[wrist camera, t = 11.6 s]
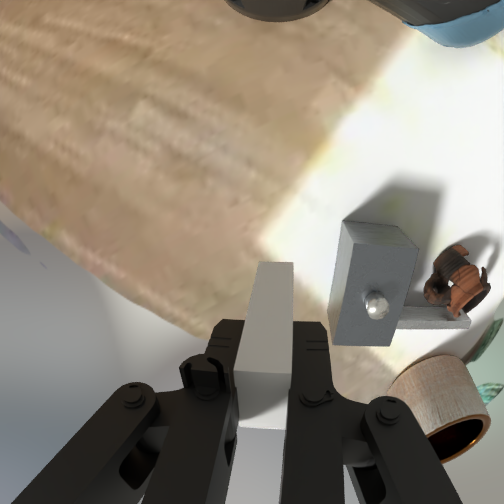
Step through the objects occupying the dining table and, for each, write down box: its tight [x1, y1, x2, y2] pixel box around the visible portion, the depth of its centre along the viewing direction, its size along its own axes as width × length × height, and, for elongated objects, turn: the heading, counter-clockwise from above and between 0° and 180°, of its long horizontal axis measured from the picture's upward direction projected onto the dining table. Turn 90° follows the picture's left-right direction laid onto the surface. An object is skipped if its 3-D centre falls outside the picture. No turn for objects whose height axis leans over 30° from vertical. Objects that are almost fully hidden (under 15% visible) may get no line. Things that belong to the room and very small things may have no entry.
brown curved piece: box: [424, 245, 491, 318], centre depth 38 cm, size 12×10×8 cm
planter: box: [387, 355, 491, 464], centre depth 42 cm, size 18×18×16 cm
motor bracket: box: [327, 221, 471, 346], centre depth 36 cm, size 14×24×10 cm, turn 88°
